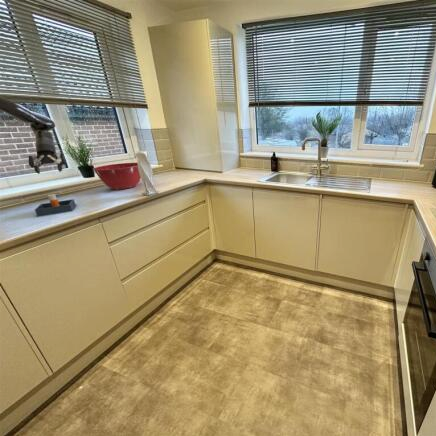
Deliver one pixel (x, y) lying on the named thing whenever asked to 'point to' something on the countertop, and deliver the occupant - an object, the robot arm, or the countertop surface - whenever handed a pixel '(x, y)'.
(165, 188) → the countertop surface
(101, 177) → the mixing bowl
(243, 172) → the countertop surface
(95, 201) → the countertop surface
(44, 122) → the robot arm
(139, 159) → the white statue
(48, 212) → the tote
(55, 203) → the glue stick
